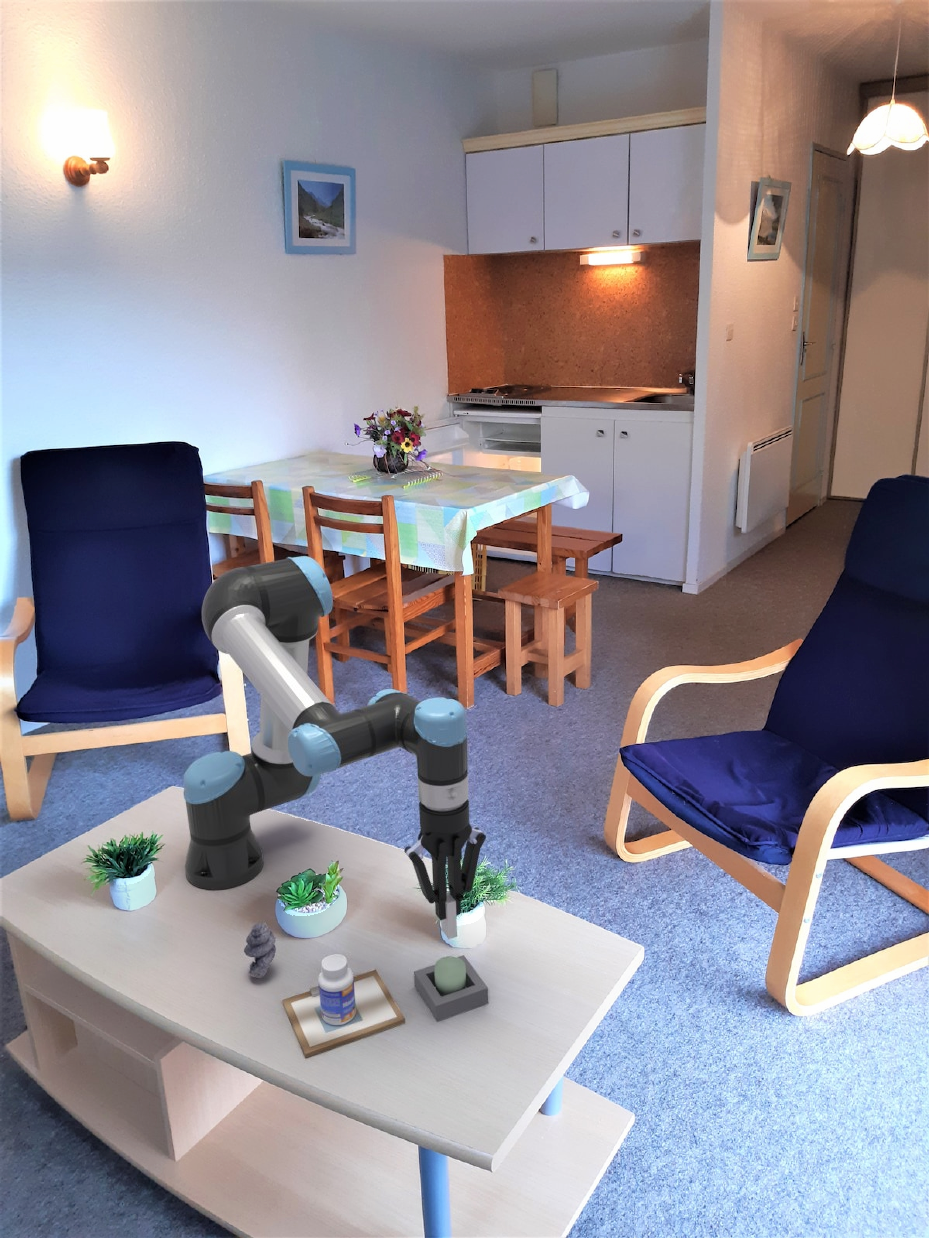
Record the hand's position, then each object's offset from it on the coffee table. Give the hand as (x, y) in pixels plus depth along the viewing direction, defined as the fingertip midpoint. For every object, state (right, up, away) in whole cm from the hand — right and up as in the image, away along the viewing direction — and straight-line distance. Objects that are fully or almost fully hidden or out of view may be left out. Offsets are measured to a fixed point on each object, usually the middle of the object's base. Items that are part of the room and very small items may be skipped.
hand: (449, 932), depth 150 cm
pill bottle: (-17, -12, -1) cm, 21 cm away
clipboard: (-17, -13, +1) cm, 21 cm away
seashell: (-31, -10, +10) cm, 35 cm away
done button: (0, -10, +3) cm, 11 cm away
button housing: (0, -11, +4) cm, 12 cm away
